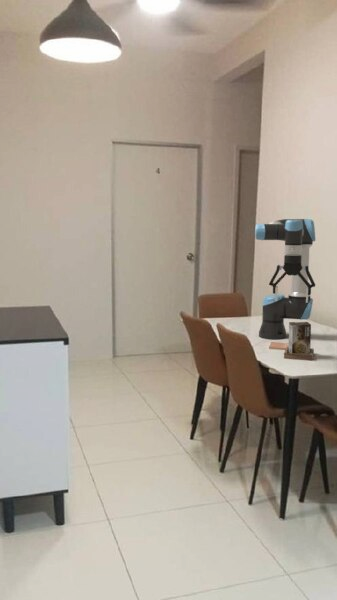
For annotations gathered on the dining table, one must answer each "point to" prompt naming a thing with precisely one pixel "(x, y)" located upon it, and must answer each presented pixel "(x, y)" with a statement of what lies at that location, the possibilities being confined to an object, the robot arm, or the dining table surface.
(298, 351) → the coffee box
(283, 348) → the terracotta tile
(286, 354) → the tray
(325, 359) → the dining table surface
